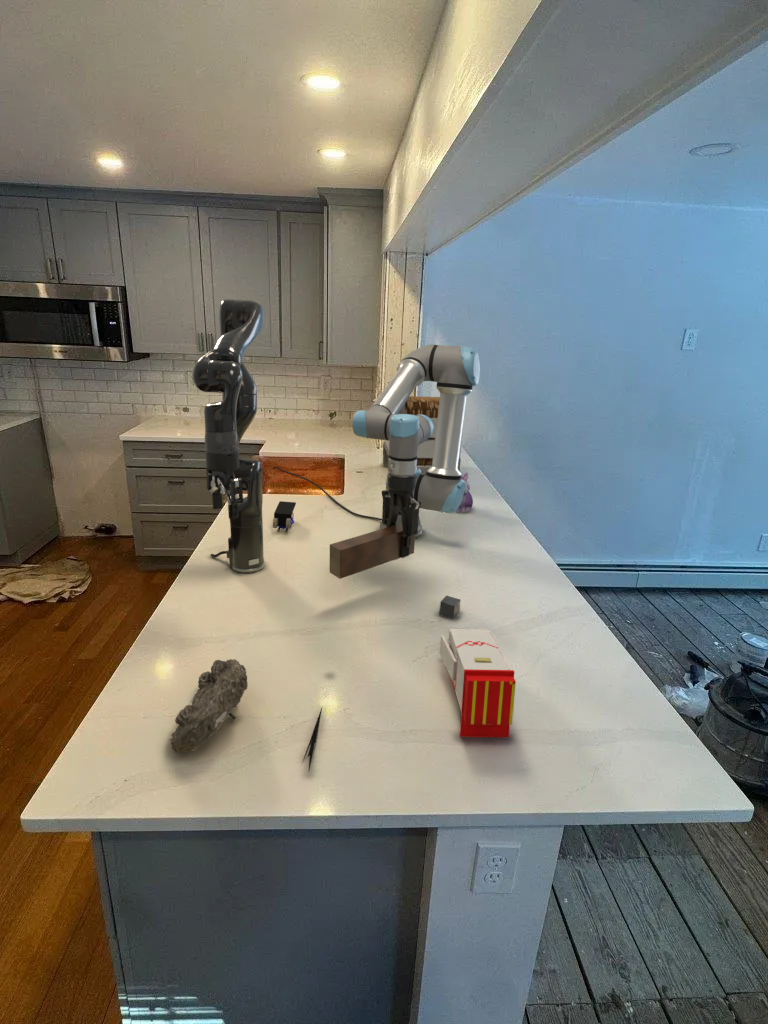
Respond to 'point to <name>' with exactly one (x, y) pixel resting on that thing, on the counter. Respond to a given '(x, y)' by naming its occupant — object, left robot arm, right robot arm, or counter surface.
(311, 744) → the feather
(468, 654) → the toy
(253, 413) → the left robot arm
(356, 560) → the walnut bar
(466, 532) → the counter surface
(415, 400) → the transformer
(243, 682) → the fossil
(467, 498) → the figurine
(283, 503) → the figurine character
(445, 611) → the slate cube
